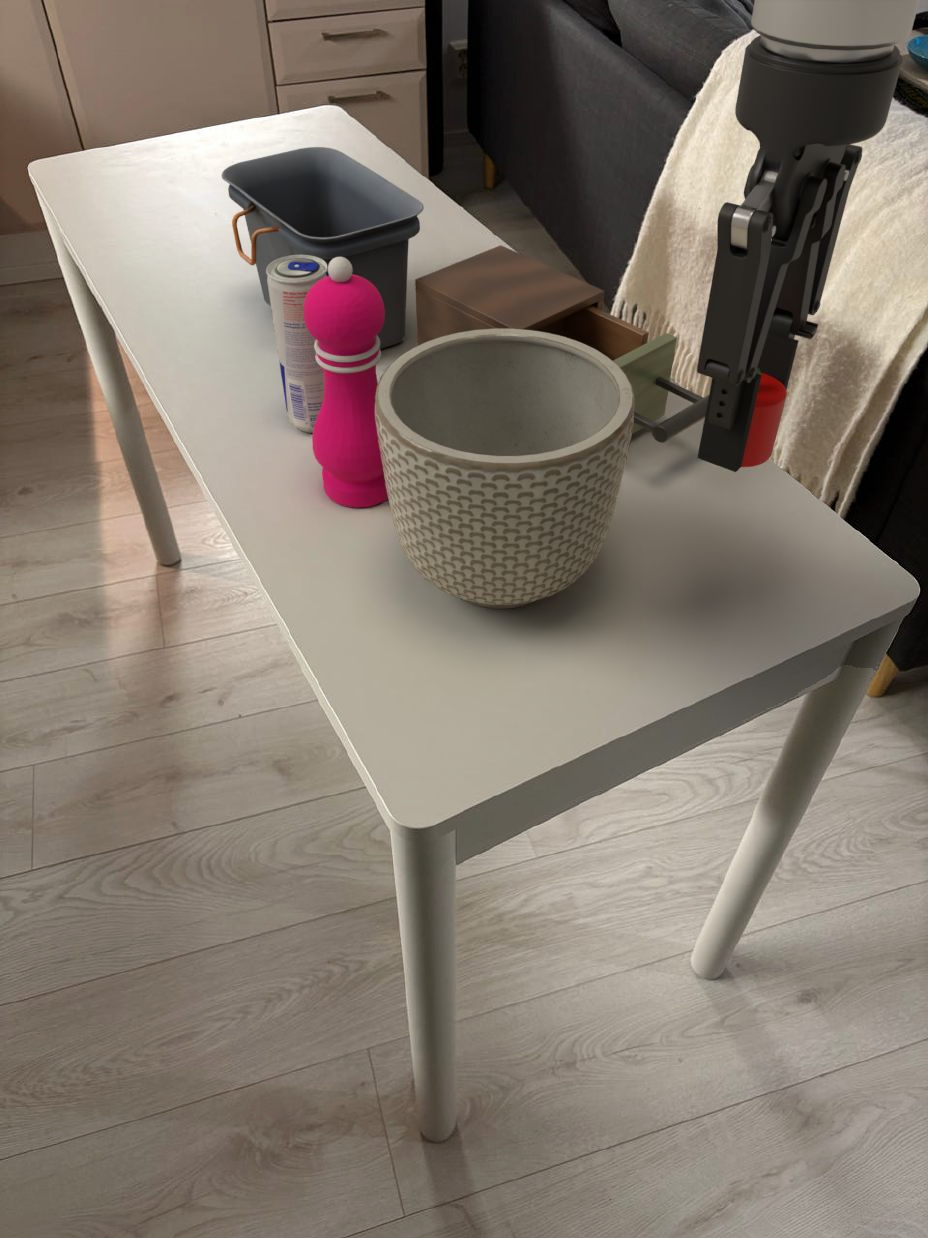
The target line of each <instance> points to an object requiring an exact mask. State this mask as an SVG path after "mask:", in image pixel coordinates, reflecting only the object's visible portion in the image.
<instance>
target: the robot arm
mask: <svg viewBox="0 0 928 1238" xmlns="http://www.w3.org/2000/svg"><path fill="white" fill-rule="evenodd" d="M919 4H920V0H754V3H753V9H752V14H751V20H750V24H751V26H752V28H753V29H754V31H755V32H756V33H757V34H758V36H755V37H754V38H753V39H752V40H751V41H750V43H749V44H748V45H746V47H745V49H744V55H743V62H742V67H741V74H740V78H739V79H740V80H739V85H738V90H737V97H736V102H735V107H734V108H735V109H734V111H735V113H734V114H735V118H736V120H737V122H738V123H739V124H740V126H741V127H742V128H743V129H745V130H746V131H749V132H751V133H752V134H753V135H754V136H755V137H756V139H757V140H758V143H759V148H758V150H757V153H756V155H755V159H754V163H753V164H752V165H751V166H750V169H749V171H748V174H747V178H746V181H745V185H744V189H743V197H744V200H743V201H742V203H741V204H737V203H732V202H729V201H727V202H724V203H723V205H722V206H721V208H720V210H719V212H718V215H717V224H716V226H717V227H716V229H717V233H716V234H717V236H716V237H717V238H716V239H717V241H716V243H717V245H716V246H717V249H716V253H715V261H714V266H713V273H712V279H711V285H710V291H709V297H708V302H707V308H706V314H705V320H704V325H703V332H702V338H701V342H700V343H701V344H700V349H699V354H698V361H697V366H696V372H697V374H700V375H702V376H706V377H709V378H711V383H710V389H709V394H708V395H709V398H708V404H707V409H706V414H705V418H704V419H703V426H702V430H701V436H700V442H699V447H698V451H697V457H696V458H697V459H699V460H702V461H704V462H707V463H709V464H712V465H714V466H718V467H720V468H723V469H725V470H729V471H731V472H733V473H737V472H738V471H739V470H740V469H741V468H742V467H741V465H742V461H743V456H744V452H745V447H746V443H747V439H748V434H749V430H750V425H751V421H752V417H753V412H754V408H755V403H756V399H757V394H758V390H759V386H760V381H761V377H762V375H760V374H757V373H756V372H757V367H758V368H759V369H760V371H761V373H763V374H766V375H769V376H771V377H773V378H775V379H777V380H778V381H780V382H781V383H782V384H783V385H784V387H785V388H786V391H787V390H788V385H789V382H790V379H791V378H790V377H791V373H792V370H793V367H794V362H795V357H796V354H797V349H798V345H799V343H800V342H799V340H797V339H796V338H795V337H796V336H798V337H801V338H805V339H808V340H812V339H813V338H814V336H815V335H816V333H817V330H818V327H819V323H816V322H813V321H809V320H808V317H809V316H815V314H817V313H818V311H819V310H820V307H821V301H822V297H823V294H824V291H825V286H826V282H827V278H828V275H829V270H830V266H831V264H832V263H831V262H832V260H833V255H834V251H835V248H836V243H837V239H838V236H839V232H840V227H841V224H842V220H843V216H844V212H845V209H846V204H847V200H848V197H849V193H850V189H851V187H852V185H853V181H854V179H855V176H856V173H857V170H858V167H859V165H860V163H861V161H862V159H863V146H860V145H855V144H858V143H862V142H865V141H867V140H870V139H872V138H874V137H875V136H876V135H878V134H879V133H880V132H881V131H882V130H883V128H884V127H885V125H886V124H887V119H888V116H889V113H890V109H891V106H892V101H893V97H894V94H895V90H896V87H897V82H898V79H899V76H900V71H901V68H902V64H903V60H904V58H903V55H902V54H901V51H900V49H899V48H898V46H896V45H897V44H898V43H902V42H903V41H904V40H905V39H907V38H908V37H909V36H910V35H911V34H912V30H913V27H914V22H915V20H916V15H917V13H918V7H919Z"/></svg>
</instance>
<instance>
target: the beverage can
mask: <svg viewBox="0 0 928 1238" xmlns="http://www.w3.org/2000/svg"><path fill="white" fill-rule="evenodd" d="M327 270H328V266H327V264H326V262H325V261H324V260H322V259H320V258H318V257H315V256H310V255H291V256H286V257H282V258H279V259H276V260H274V261H273V262H271V263H270V264H269V265H268V266H267V269H266V273H267V275H268V277H267V282H268V289H269V296H270V302H271V306H270V308H271V315H272V322H273V329H274V336H275V340H276V341H275V342H276V348H277V355H278V362H279V369H280V375H281V382H282V389H283V395H284V401H285V408H286V409H285V410H286V414H287V419H288V421H289V422H290V424H291V425H292V426H294V427H295V428H298V429H299V430H300V431H302V432H305V433H310V434H313V430H314V425H315V421H316V419H317V416H318V413H319V411H320V408H321V405H322V402H323V397H324V391H325V387H324V373H323V368H322V367H321V366H320V365H319V364H318V363H317V361H316V358H315V355H316V351H315V348H314V343H315V340H316V339H315V338H314V337H313V336H312V335H311V334H310V332H309V331H308V330H307V327H306V325H305V321H304V312H303V309H304V301H305V298H306V296H307V293H308V292H309V290H310V288H311V287H312V286H313V285H314V284H315V283H316V282H318V281H319V280H321V279H323V278H324V277H327V276H329V274H328V272H327Z"/></svg>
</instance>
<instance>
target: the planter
mask: <svg viewBox="0 0 928 1238" xmlns="http://www.w3.org/2000/svg"><path fill="white" fill-rule="evenodd" d="M634 409H635V406H634V394H633V389H632V385H631V383H630V381H629V380H628V378H627V376H626V375H625V373H624V372H623V371H622V370H621V369H620V367H619V366H618V365H617V364H615V363H614V362H613V361H612V360H611V359H609V358H608V357H607V356H605V355H604V354H602V353H600V352H599V351H597V350H596V349H594V348H592V347H589V346H587V345H585V344H583V343H581V342H578V341H575V340H572V339H569V338H566V337H563V336H559V335H555V334H551V333H546V332H539V331H533V330H523V329H482V330H472V331H466V332H459V333H455V334H451V335H446V336H442V337H439V338H436V339H433V340H431V341H428V342H425V343H423V344H421V345H419V346H418V345H417V346H415V347H412V348H411V349H409V350H408V351H406V352H405V353H403V354H401V355H400V356H399V357H397V359H395V360H394V361H393V362H391V364H389V365H388V367H387V368H386V369H385V370H384V372H383V373H382V374H381V376H380V378H379V380H378V385H377V389H376V396H375V420H376V428H377V435H378V442H379V448H380V454H381V460H382V466H383V472H384V478H385V485H386V490H387V495H388V499H387V500H388V503H389V508H390V513H391V517H392V521H393V525H394V528H395V531H396V534H397V537H398V540H399V542H400V545H401V547H402V549H403V551H404V554H405V556H406V557H407V558H408V560H409V561H410V563H411V564H412V566H413V567H414V568H415V570H416V571H417V572H418V573H419V574H420V575H421V576H422V577H423V578H424V579H425V580H426V581H428V582H429V583H431V584H432V585H434V586H435V587H436V588H438V589H440V590H441V591H442V592H443V591H444V592H445V593H447V594H449V595H450V596H454V597H457V598H459V599H462V600H464V601H466V602H468V603H470V604H472V605H476V606H479V607H483V608H487V609H495V610H497V609H498V610H499V609H501V610H503V609H505V610H507V609H514V608H518V607H523V606H526V605H528V604H531V603H533V602H536V601H540V600H542V599H545V598H548V597H551V596H553V595H555V594H557V593H559V592H561V591H563V590H564V589H566V588H567V587H569V586H570V585H572V584H574V583H575V582H576V581H578V580H580V578H581V577H582V576H583V575H584V574H585V573H586V572H587V571H588V570H589V568H590V567H591V565H592V564H593V563H594V561H595V559H596V558H597V556H598V555H599V553H600V551H601V549H602V547H603V544H604V541H605V539H606V536H607V533H608V530H609V528H610V525H611V521H612V518H613V515H614V511H615V508H616V504H617V500H618V497H619V494H620V491H621V486H622V481H623V476H624V472H625V467H626V463H627V457H628V453H629V450H630V445H631V439H632V436H633V434H632V429H633V422H634Z"/></svg>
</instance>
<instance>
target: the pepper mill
mask: <svg viewBox="0 0 928 1238" xmlns="http://www.w3.org/2000/svg"><path fill="white" fill-rule="evenodd" d="M352 272H353V269H352V265H351V263H350V262H349V260H347V259H346V258H343V257H336V258H334V259H332V260H331V261H330V263H329V265H328V273H329V276H327V277H324V278H323V279H321V280H319V281H318V282H316V283H315V284H314V285H313V286H312V287H311V288H310V290H309V292H308V293H307V296H306V298H305V301H304V309H303V312H304V321H305V325H306V327H307V330H308V331H309V332H310V334H311V335H312V336H313V337H314V338H315V339H316V340H315V343H314V348H315V351H316V355H315V358H316V361H317V363H318V364H319V365H320V366H321V367H322V368H323V373H324V387H325V391H324V397H323V402H322V405H321V408H320V411H319V413H318V416H317V419H316V421H315V425H314V430H313V433H312V436H311V438H312V452H313V455H314V458H315V460H316V461H317V463H318V465H320V467H322V470H321V474H322V475H321V476H322V485H323V491H324V493H325V495H326V496H327V497H328V499H330V500H331V501H332V502H334V503H335V504H338V505H340V506H344V507H349V508H368V507H373V506H376V505H379V504H381V503H383V502H386V501H387V500H389V499H388V495H387V490H386V485H385V478H384V472H383V466H382V460H381V454H380V448H379V442H378V435H377V428H376V420H375V396H376V389H377V385H378V383H379V381H378V375H377V364H378V363H379V361H380V360H381V356H382V351H381V349H380V348H379V347H380V339H379V337H378V336H377V334H378V333H379V332H380V331H381V329H382V326H383V324H384V320H385V309H384V304H383V300H382V297H381V295H380V293H379V291H378V290H377V288H376V287H375V286H374V285H373V284H372V283H371V282H370V281H368V280H366V279H365V278H363V277H360V276H357V275H354V274H352Z"/></svg>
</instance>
